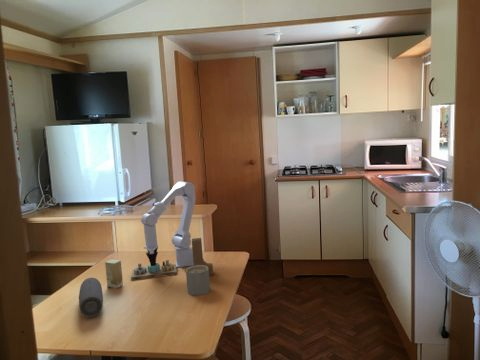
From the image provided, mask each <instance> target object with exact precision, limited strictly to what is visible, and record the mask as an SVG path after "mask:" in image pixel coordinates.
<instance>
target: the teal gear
mask: <svg viewBox="0 0 480 360" xmlns="http://www.w3.org/2000/svg"><path fill="white" fill-rule="evenodd" d="M160 266H161V265H160V263H159V262H156V266H151V264H150V263H149V264H148V265H147V268H148V272H150V273H151V272H153V273H154V272H158V271H159V270H160Z"/></svg>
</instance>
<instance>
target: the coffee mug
mask: <svg viewBox="0 0 480 360" xmlns="http://www.w3.org/2000/svg"><path fill="white" fill-rule="evenodd" d="M185 277H186V287H187V294H188V295H191V296H202V295H205V294H208V293H209V292H210V291H211V283H210V282H211V281H210V275H209V269H208V267H207V266H205V265H195V266H194V265H191V266H187V268H186V269H185Z"/></svg>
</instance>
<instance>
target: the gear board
mask: <svg viewBox="0 0 480 360" xmlns="http://www.w3.org/2000/svg"><path fill="white" fill-rule="evenodd" d="M174 275H178V271H177V267H176V263H175V264H174V263H173V262H170V261H169V259H165V261H162V265H160V270H159V271H158V272H154V273H153V272H151V273H150V272H148V267H146V266H142V263H137V267H135V268H133V269H132V271H131V276H130V280H131V281H137V280H143V279H144V280H145V279H152V278H159V277H167V276H174Z"/></svg>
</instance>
